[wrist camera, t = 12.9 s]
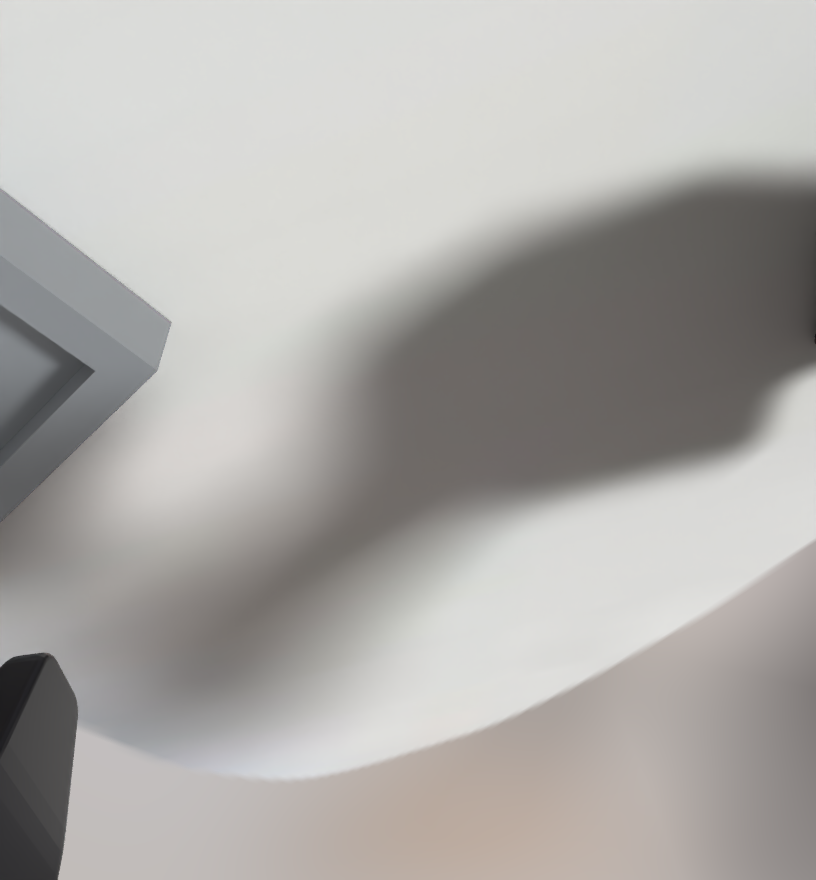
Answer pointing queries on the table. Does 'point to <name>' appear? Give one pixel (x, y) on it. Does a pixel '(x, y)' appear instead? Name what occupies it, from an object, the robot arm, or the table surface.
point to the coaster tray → (61, 349)
